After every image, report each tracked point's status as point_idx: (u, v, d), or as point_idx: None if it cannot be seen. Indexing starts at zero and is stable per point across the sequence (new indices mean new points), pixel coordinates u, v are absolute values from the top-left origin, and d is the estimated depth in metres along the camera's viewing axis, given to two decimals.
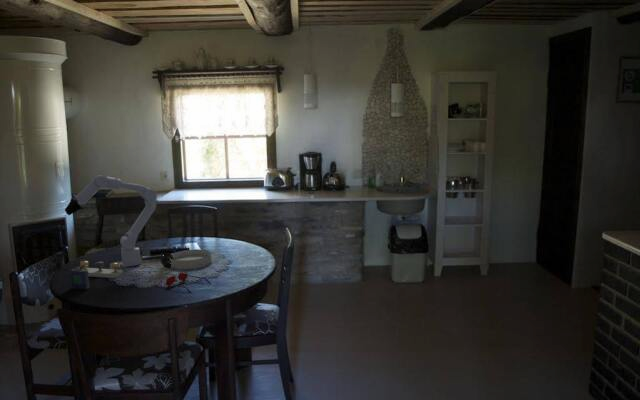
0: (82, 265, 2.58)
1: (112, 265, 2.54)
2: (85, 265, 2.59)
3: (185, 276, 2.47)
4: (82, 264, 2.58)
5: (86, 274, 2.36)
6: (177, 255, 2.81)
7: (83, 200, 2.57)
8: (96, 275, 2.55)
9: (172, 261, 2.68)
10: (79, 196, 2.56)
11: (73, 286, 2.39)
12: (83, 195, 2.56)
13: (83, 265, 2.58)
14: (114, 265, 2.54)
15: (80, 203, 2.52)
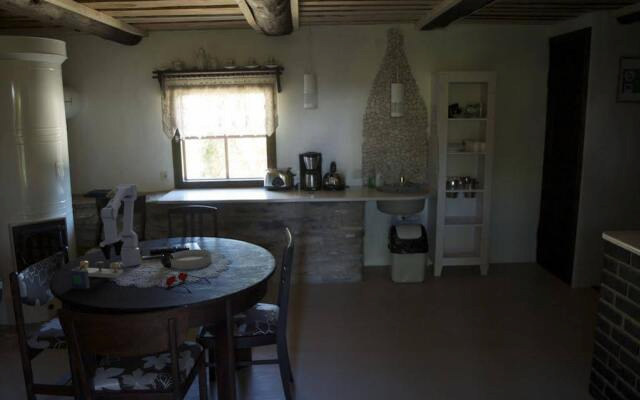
0: (82, 265, 2.58)
1: (112, 265, 2.54)
2: (85, 265, 2.59)
3: (185, 276, 2.47)
4: (82, 264, 2.58)
5: (86, 274, 2.36)
6: (177, 255, 2.81)
7: None
8: (96, 275, 2.55)
9: (172, 261, 2.68)
10: None
11: (73, 286, 2.39)
12: None
13: (83, 265, 2.58)
14: (114, 265, 2.54)
15: None
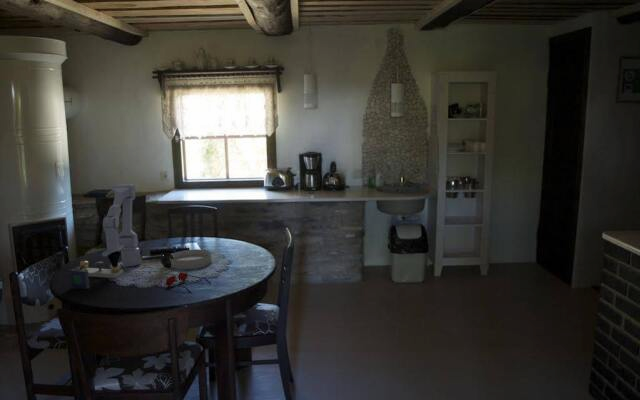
0: (82, 265, 2.58)
1: (112, 268, 2.54)
2: (85, 265, 2.59)
3: (185, 276, 2.47)
4: (82, 264, 2.58)
5: (86, 274, 2.36)
6: (177, 255, 2.81)
7: None
8: (96, 275, 2.55)
9: (172, 261, 2.68)
10: None
11: (73, 286, 2.39)
12: None
13: (83, 265, 2.58)
14: (114, 268, 2.54)
15: None
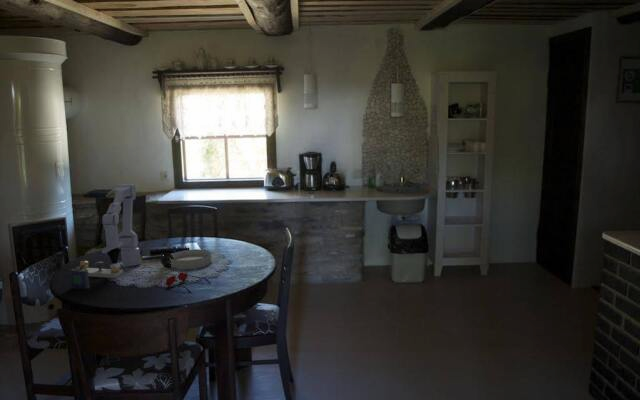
0: (82, 265, 2.58)
1: (112, 269, 2.54)
2: (85, 265, 2.59)
3: (185, 276, 2.47)
4: (82, 264, 2.58)
5: (86, 274, 2.36)
6: (177, 255, 2.81)
7: None
8: (96, 275, 2.55)
9: (172, 261, 2.68)
10: None
11: (73, 286, 2.39)
12: None
13: (83, 265, 2.58)
14: (114, 269, 2.54)
15: None
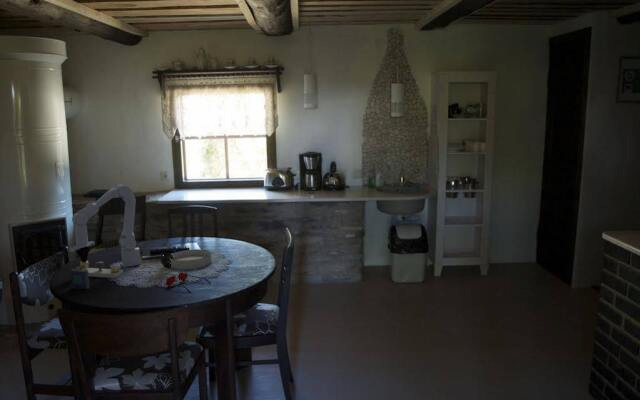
0: (82, 265, 2.58)
1: (112, 269, 2.54)
2: (85, 265, 2.59)
3: (185, 276, 2.47)
4: (82, 264, 2.58)
5: (86, 274, 2.36)
6: (177, 255, 2.81)
7: None
8: (96, 275, 2.55)
9: (172, 261, 2.68)
10: None
11: (73, 286, 2.39)
12: None
13: (83, 265, 2.58)
14: (114, 269, 2.54)
15: None
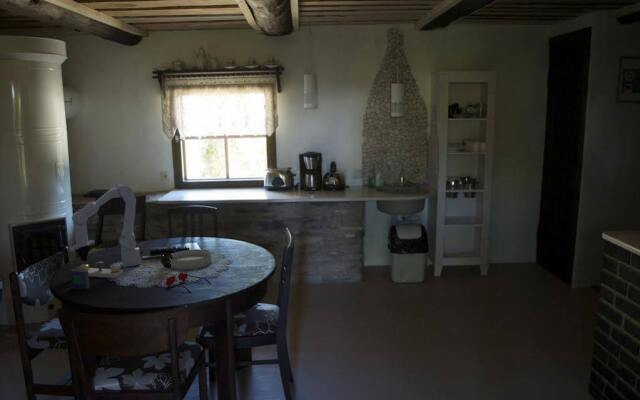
0: (82, 269, 2.59)
1: (112, 269, 2.54)
2: (85, 269, 2.59)
3: (185, 276, 2.47)
4: (82, 268, 2.59)
5: (86, 274, 2.36)
6: (177, 255, 2.81)
7: None
8: (96, 275, 2.55)
9: (172, 261, 2.68)
10: (88, 241, 2.60)
11: (73, 286, 2.39)
12: None
13: (83, 269, 2.59)
14: (114, 269, 2.54)
15: None
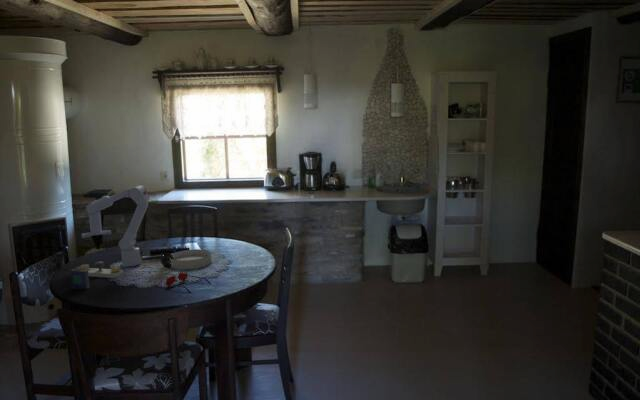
0: (82, 269, 2.59)
1: (112, 269, 2.54)
2: (85, 269, 2.59)
3: (185, 276, 2.47)
4: (82, 268, 2.59)
5: (86, 274, 2.36)
6: (177, 255, 2.81)
7: None
8: (96, 275, 2.55)
9: (172, 261, 2.68)
10: (100, 230, 2.71)
11: (73, 286, 2.39)
12: (101, 227, 2.72)
13: (83, 269, 2.59)
14: (114, 269, 2.54)
15: (110, 232, 2.76)
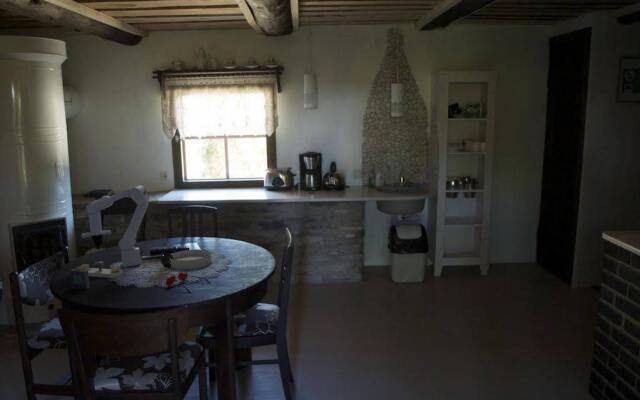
0: (82, 269, 2.59)
1: (112, 269, 2.54)
2: (85, 269, 2.59)
3: (185, 276, 2.47)
4: (82, 268, 2.59)
5: (86, 274, 2.36)
6: (177, 255, 2.81)
7: None
8: (96, 275, 2.55)
9: (172, 261, 2.68)
10: (100, 230, 2.71)
11: (73, 286, 2.39)
12: (101, 227, 2.72)
13: (83, 269, 2.59)
14: (114, 269, 2.54)
15: (110, 232, 2.76)
